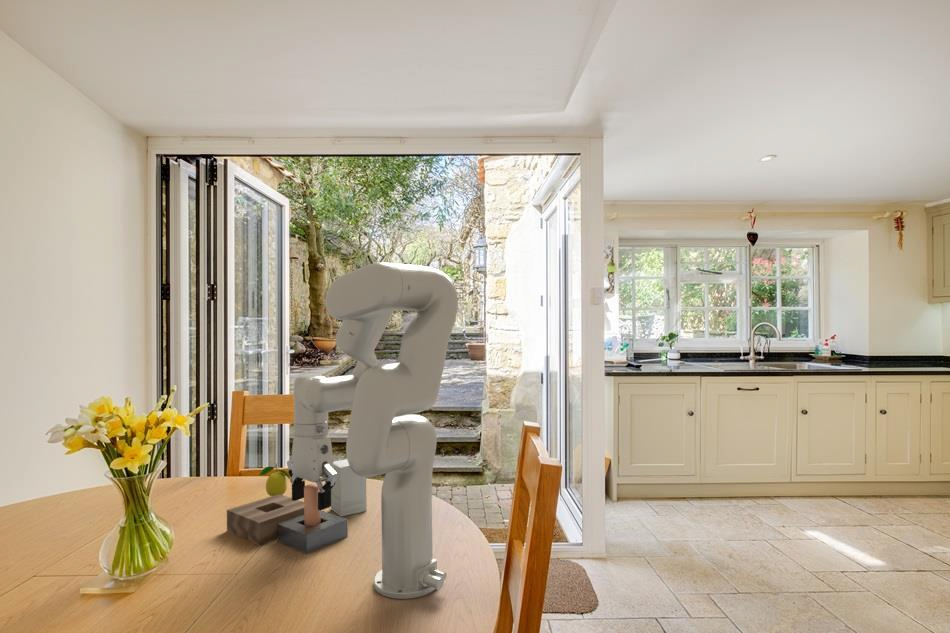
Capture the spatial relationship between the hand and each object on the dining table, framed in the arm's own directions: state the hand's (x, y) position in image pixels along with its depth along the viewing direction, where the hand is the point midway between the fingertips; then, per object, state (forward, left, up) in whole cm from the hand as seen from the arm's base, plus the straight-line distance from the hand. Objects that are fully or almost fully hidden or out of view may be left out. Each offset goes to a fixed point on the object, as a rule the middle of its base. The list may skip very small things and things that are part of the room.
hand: (311, 503), depth 122 cm
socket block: (+13, +2, -8) cm, 16 cm away
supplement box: (+7, -17, -8) cm, 20 cm away
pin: (-1, 0, -8) cm, 8 cm away
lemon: (+31, -11, -8) cm, 34 cm away
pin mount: (-1, 0, -8) cm, 8 cm away
